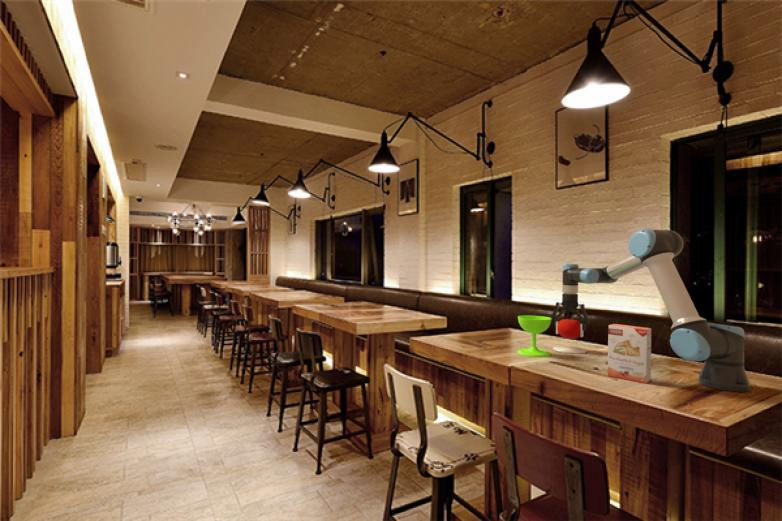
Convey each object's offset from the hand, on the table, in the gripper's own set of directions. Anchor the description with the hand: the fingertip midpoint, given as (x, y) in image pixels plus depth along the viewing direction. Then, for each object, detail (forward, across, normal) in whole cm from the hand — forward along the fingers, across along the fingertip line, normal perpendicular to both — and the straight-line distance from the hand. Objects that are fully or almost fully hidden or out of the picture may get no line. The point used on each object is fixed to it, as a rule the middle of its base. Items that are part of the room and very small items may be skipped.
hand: (569, 335), depth 214 cm
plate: (+8, 0, 0) cm, 8 cm away
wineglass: (+8, +11, +20) cm, 24 cm away
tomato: (+2, 0, 0) cm, 2 cm away
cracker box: (+8, -34, +38) cm, 52 cm away
